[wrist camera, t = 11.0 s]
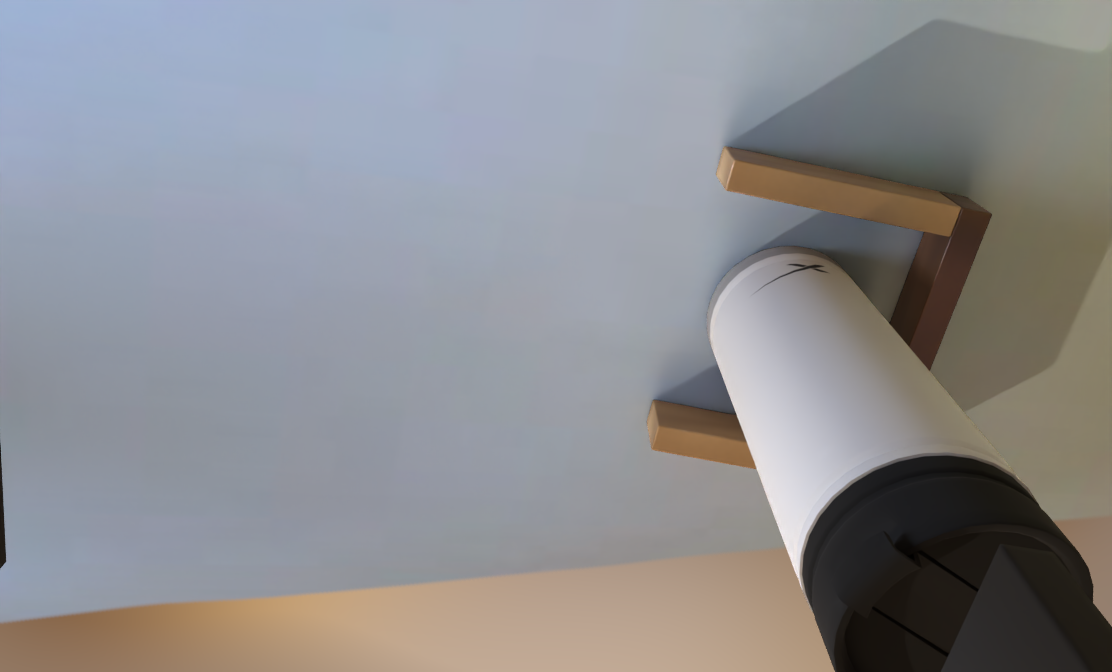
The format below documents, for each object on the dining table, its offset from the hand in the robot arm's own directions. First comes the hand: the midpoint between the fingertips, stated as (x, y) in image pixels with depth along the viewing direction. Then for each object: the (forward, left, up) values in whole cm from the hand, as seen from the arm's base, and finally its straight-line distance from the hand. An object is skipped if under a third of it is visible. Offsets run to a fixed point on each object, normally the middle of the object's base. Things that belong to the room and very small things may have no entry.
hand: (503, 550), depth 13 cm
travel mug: (+5, +11, -27) cm, 29 cm away
